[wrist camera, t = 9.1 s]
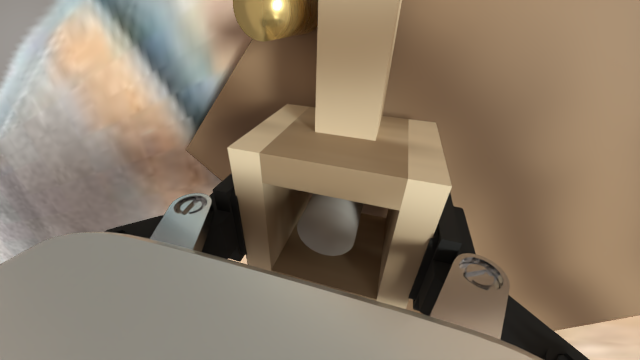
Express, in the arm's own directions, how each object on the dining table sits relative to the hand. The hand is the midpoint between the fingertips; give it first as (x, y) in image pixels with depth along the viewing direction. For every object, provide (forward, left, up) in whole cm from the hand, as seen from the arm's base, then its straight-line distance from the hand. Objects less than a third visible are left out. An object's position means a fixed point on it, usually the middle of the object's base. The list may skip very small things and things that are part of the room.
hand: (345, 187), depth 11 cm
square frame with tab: (+2, +1, -1) cm, 3 cm away
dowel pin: (+3, +6, -2) cm, 7 cm away
